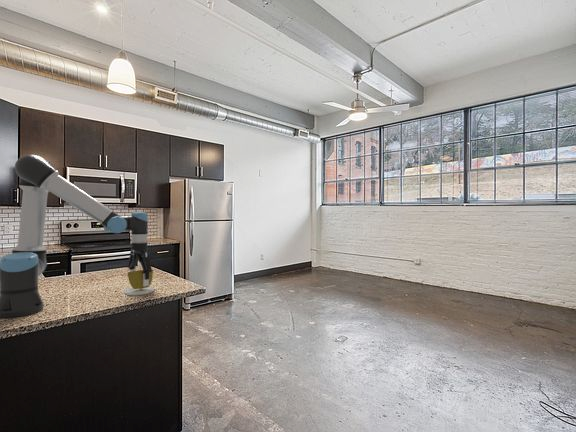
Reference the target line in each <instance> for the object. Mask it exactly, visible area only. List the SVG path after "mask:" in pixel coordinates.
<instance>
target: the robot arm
mask: <svg viewBox="0 0 576 432" xmlns="http://www.w3.org/2000/svg"><path fill="white" fill-rule="evenodd" d="M14 171H15V173H16V175H17V176H18V178H19V182H18V183H19V184H18V187H19V188H20V189H21V190H22V197H21V207H20V216H19V228H18V237H17V238H18V239H17V245H16V246H14V247H12V252H11V253H9V254H5V255H4V256H2V257H1V258H0V319H9V318H17V317H23V316H28V315H32V314H33V315H34V314H36V313H39V312H41V311H42V310H43V309H44V302H43V299H42V296H41V295H40V292H39V276H41V275H42V274H43V273H44V272H45V271H46V270H47V269H46V268H47V267H48V261H47V260H48V259H47V257H46V256H47V248H46V247H45V246H44V245H43V243H44V236H45V235H44V234H45V224H46V215H47V214H46V213H47V205H48V204H47V203H48V195H49V192H50V193H51V194H53V195H55V196H57V197H58V198H60V199H61V200H62V201H64V202H66V203H67V204H69V205H70V206H72V207H74V209H77V210H78V211H80V212H81V213H83V214H84V215H85V216H88V217H89V218H91V219H93V220H94V221H95V222H96V223H98V224H100V225H102V226H103V230H104V232H110V233H113V234H121V233H122V232H130V231H131V235H130V239H131V240H130V241H131V242H130V243H131V244H130V254H129V258H128V262H127V266H126V267H127V268H128V269H129V272H132V271H137V270H136V269H137V268H136V267H137V264H138V262H139V263H140V265H141V268H142V270H143V271H144V272H143V286H148V285H149V273H150V272H152V265H151V261H150V253H149V252H146V250H148V245H149V244H148V237H149V236H148V232H149V231H148V227H149V226H148V225H149V224H148V223H149V220H148V219H149V218H148V214H147V212H146V211H145V212H143V211H141V212H139V211H137V212H136V211H135V212H131V215H128V216H126V215H119V214H117V213H116V212H115V211H113V210H111V209H110V208H109V207H107V206H106V205H105V204H103V203H102V202H100V201H99V200H97V199H95V198H94V197H92V196H90V195H89V194H88V193H86V192H85V191H84V190H83V189H81V188H79V187H77V186H76V185H75V184H74V183H72V182H70V181H68V180H67V179H66V178H64V177H62V176H61V175H60V172H59V171H58V170H57V169H55V167H54V165H53V163H51V162H50V161H48V160H47V159H45V158H44V157H42V156H40V155H36V154H25V155H22V156H21V157H19V158H18V159H17V160H16V162H15V164H14Z"/></svg>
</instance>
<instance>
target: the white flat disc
mask: <svg viewBox="0 0 576 432" xmlns="http://www.w3.org/2000/svg"><path fill="white" fill-rule="evenodd" d="M154 291H155V287H153V286H151V285H150V286H149V287H148V288H142V289H133V287H132V286H131V287H128V288H125V289H124V290H123V294H124V295H125V296H143V295H148V294H151V293H153V292H154Z"/></svg>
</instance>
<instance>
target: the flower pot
mask: <svg viewBox="0 0 576 432" xmlns="http://www.w3.org/2000/svg"><path fill="white" fill-rule="evenodd" d="M143 272H144V271H143V269H140V270H136V271H132V272H130V271H127V272H126V274H127V278H128V283H129V285H130V286H131V287H133V289H142V288H148V287H149V286H150V287H151V284H152V281H153V275H154V274H153V273H154V269H152V272H150V273H149V285H148V286H143Z"/></svg>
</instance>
